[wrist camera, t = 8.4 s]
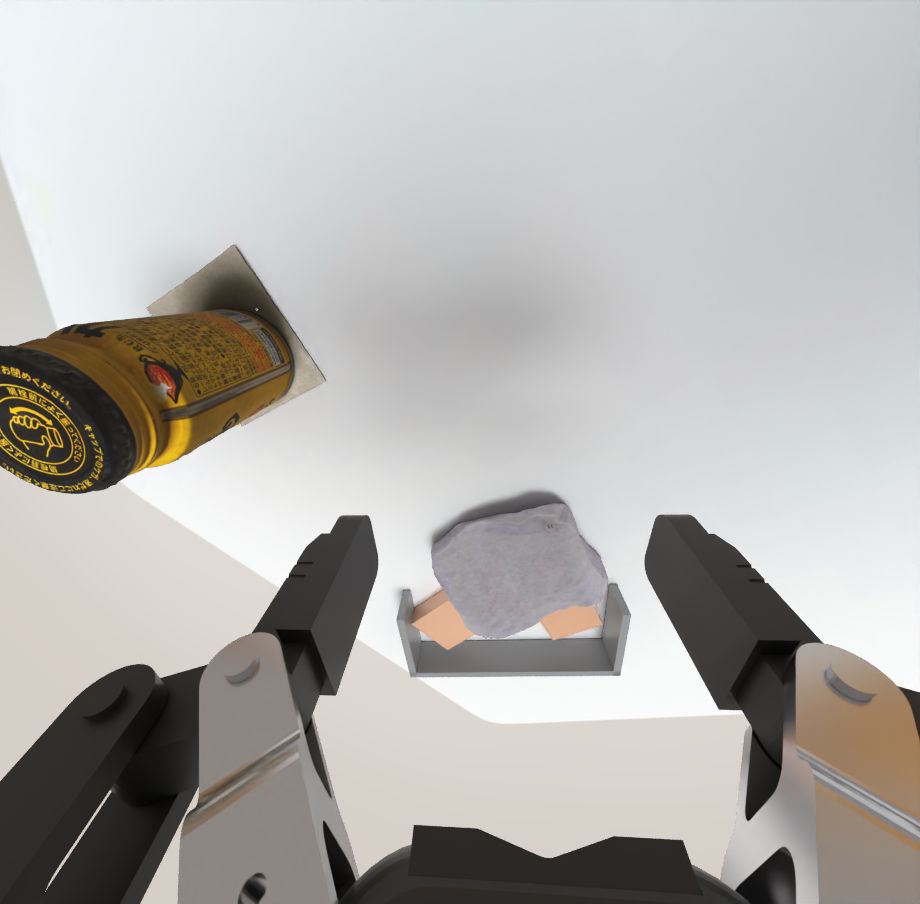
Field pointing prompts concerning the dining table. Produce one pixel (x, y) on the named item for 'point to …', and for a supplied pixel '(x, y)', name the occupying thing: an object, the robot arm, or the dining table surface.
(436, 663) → the frame
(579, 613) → the tile
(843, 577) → the dining table surface
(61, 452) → the condiment
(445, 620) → the tile
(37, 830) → the robot arm
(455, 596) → the stone block
